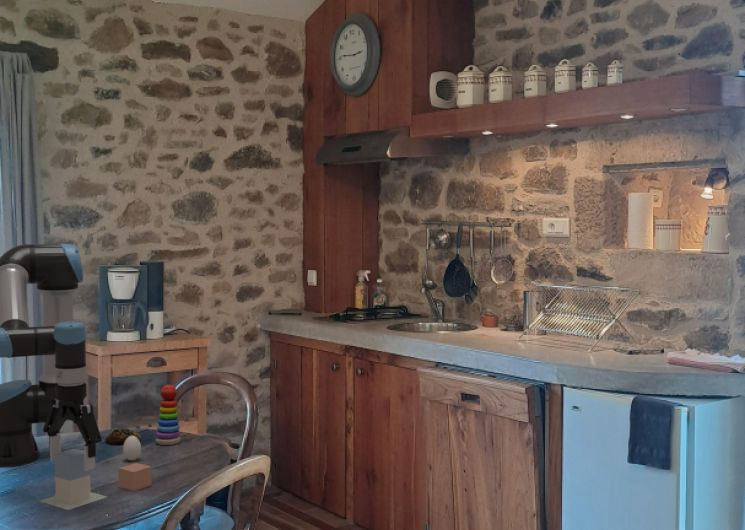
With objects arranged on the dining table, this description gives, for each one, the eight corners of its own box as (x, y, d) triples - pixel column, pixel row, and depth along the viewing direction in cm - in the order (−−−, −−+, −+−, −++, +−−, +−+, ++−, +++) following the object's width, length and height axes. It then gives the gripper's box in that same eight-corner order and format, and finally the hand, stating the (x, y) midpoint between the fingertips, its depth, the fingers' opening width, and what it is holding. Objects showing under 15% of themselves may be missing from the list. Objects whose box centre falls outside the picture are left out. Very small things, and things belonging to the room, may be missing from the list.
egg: (144, 460, 261) (144, 436, 261) (128, 463, 258) (128, 439, 257) (136, 456, 265) (135, 432, 265) (119, 460, 261) (119, 435, 261)
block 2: (55, 499, 223) (55, 476, 222) (75, 493, 228) (75, 471, 227) (70, 504, 219) (70, 480, 219) (90, 497, 224) (90, 474, 224)
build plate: (38, 504, 222) (38, 500, 222) (77, 491, 232) (77, 488, 232) (68, 513, 215) (68, 509, 215) (107, 499, 225) (107, 496, 225)
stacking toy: (174, 446, 277) (173, 388, 275) (151, 445, 278) (150, 387, 277) (184, 440, 284) (184, 383, 283) (162, 438, 286) (161, 382, 285)
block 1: (55, 476, 222) (54, 453, 222) (74, 471, 227) (74, 448, 227) (69, 480, 219) (69, 457, 219) (89, 475, 224) (89, 451, 224)
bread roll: (109, 447, 275) (109, 431, 276) (102, 444, 285) (102, 428, 286) (144, 444, 281) (144, 428, 281) (136, 441, 291) (136, 426, 291)
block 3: (118, 490, 233) (118, 468, 233) (136, 484, 238) (136, 462, 238) (134, 494, 230) (133, 472, 230) (151, 488, 235) (151, 466, 235)
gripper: (27, 379, 226) (29, 460, 227) (90, 392, 212) (92, 477, 213) (52, 374, 232) (54, 453, 233) (115, 386, 218) (116, 469, 220)
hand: (72, 465), depth 223 cm, fingers open, 13 cm apart
